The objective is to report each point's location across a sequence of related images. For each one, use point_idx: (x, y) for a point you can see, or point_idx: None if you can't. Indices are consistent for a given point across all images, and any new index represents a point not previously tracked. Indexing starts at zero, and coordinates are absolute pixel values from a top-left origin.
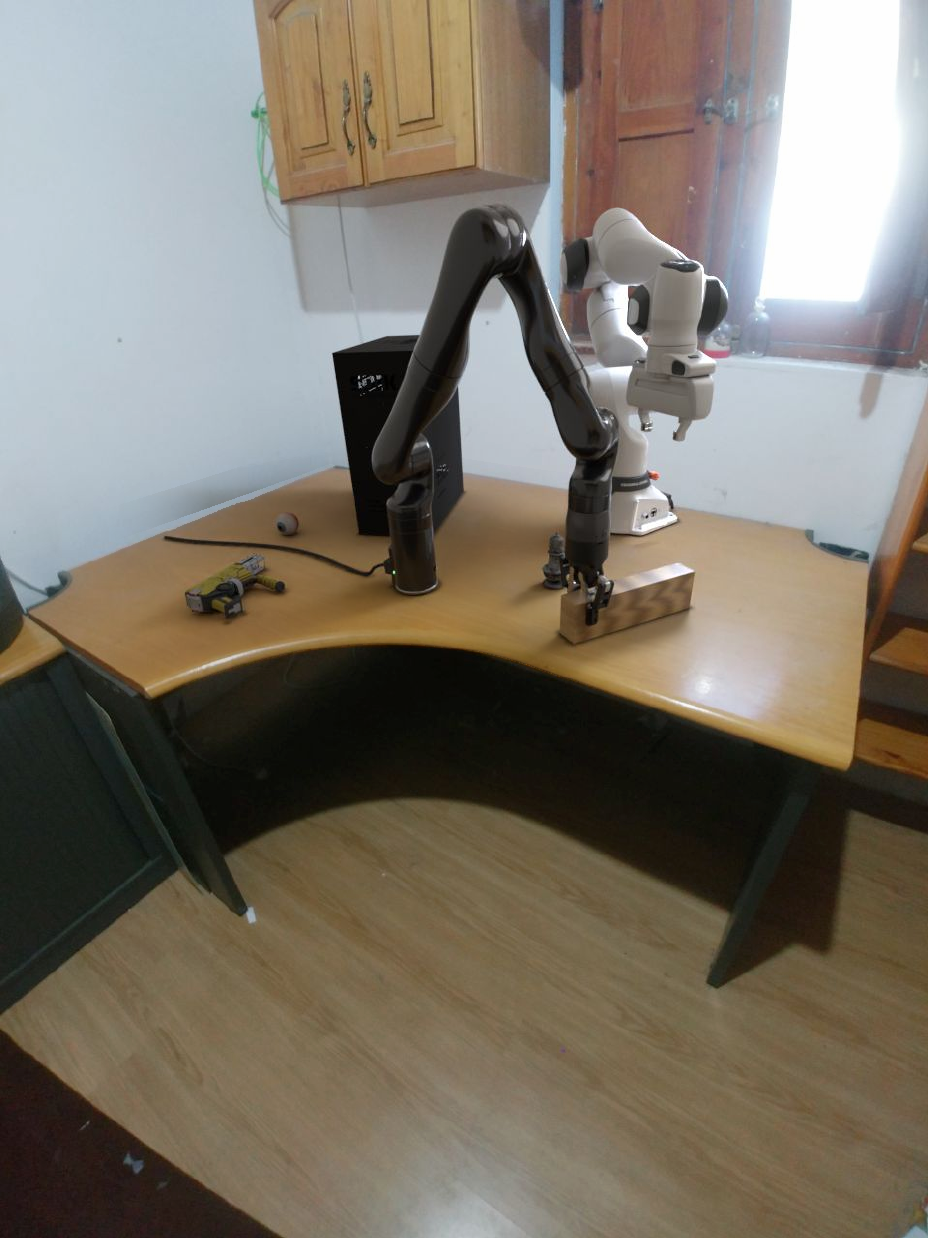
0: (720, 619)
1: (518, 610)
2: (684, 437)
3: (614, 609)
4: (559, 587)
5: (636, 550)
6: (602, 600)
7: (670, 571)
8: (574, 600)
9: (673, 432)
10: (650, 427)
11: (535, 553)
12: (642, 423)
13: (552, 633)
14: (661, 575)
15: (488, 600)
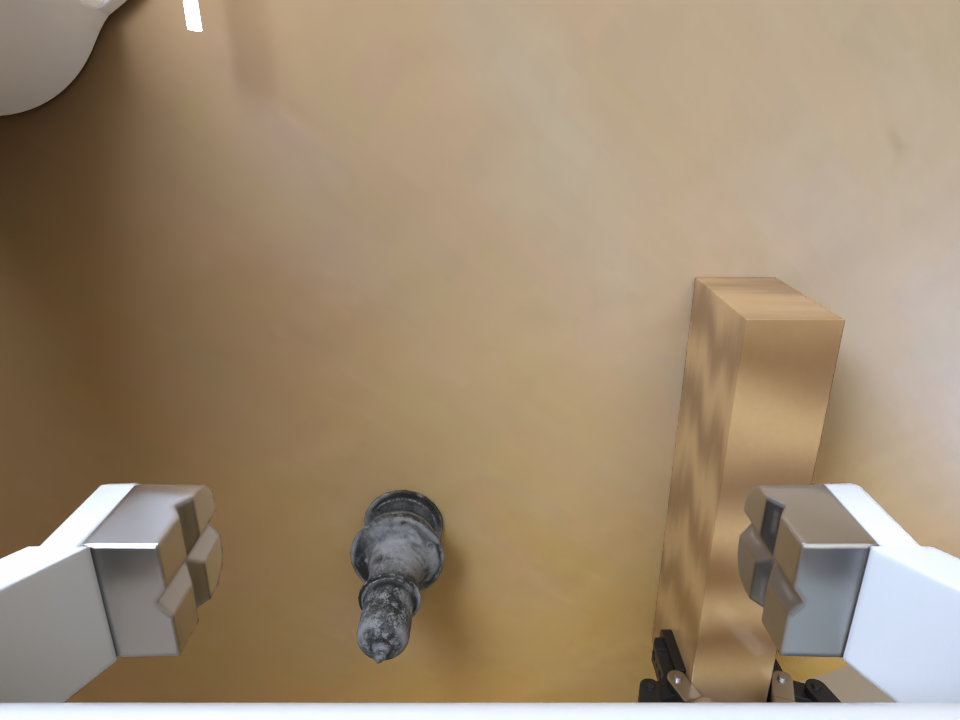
0: (887, 244)
1: (495, 666)
2: (865, 502)
3: None
4: (441, 532)
5: (288, 112)
6: (811, 700)
7: (783, 396)
8: None
9: (776, 639)
10: (186, 524)
11: (153, 461)
12: (112, 648)
13: (643, 653)
14: (784, 443)
15: (404, 699)
